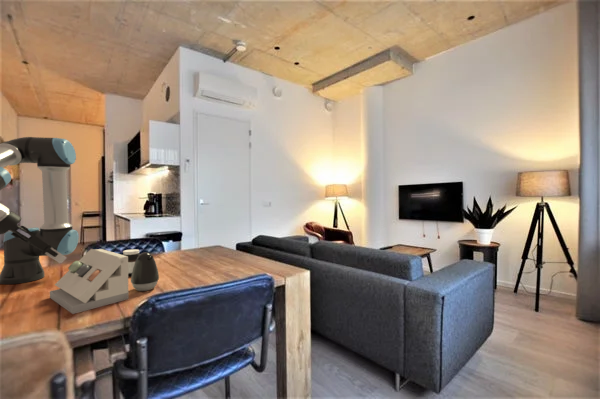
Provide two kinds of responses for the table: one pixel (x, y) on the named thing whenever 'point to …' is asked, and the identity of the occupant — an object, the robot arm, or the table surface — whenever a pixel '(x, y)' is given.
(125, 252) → the spread jar
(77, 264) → the sage button
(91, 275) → the terracotta button
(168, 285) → the table surface
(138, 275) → the dark grey egg figure
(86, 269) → the charcoal button
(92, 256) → the button console
